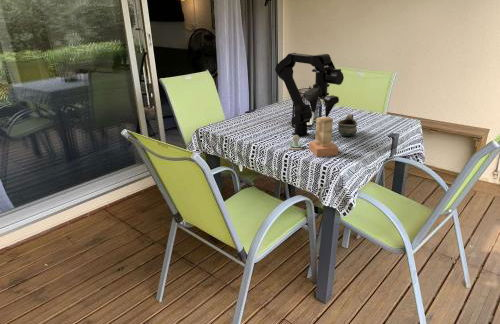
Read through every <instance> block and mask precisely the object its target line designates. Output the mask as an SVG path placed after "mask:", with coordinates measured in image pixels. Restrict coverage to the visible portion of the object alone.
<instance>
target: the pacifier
mask: <svg viewBox="0 0 500 324" xmlns="http://www.w3.org/2000/svg"><path fill="white" fill-rule="evenodd" d="M292 140H293V142H290V141H288V145H289V147H288V149H290V150H293V151H301V150H302V149H303V146H304V144H305V142H302V143H301V142H299V141H300V137H299V136H298V135H293V137H292Z"/></svg>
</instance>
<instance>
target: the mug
mask: <svg viewBox="0 0 500 324" xmlns="http://www.w3.org/2000/svg"><path fill="white" fill-rule="evenodd" d="M337 124H338V125H337V126H338V127H337V131H338V134H340V135H341V136H343V137H346V138H347V137H352V136H355V135H356V133H357V130H358V129H357V126H358V122H357V121H356V120H355V119H354V115H353V113H348V114H347V115H346V117H345V119H341V120H339V121H337Z"/></svg>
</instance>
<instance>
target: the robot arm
mask: <svg viewBox="0 0 500 324" xmlns="http://www.w3.org/2000/svg"><path fill="white" fill-rule="evenodd" d="M296 63H299V64H308V65H311V67H313V69H312V70H311V72H314V73H315V78H314V79H315V80H314V82H315V83H313V84H312V88H310V89H309V90H306V91H305V92H303V96H302V95H301V93H300V90H299V89H298V86H297V83H296V81H295V78H294V69H293V68H294V67H296ZM274 70H275V73H276V75H277V76H278V78H279V79H281V80H282V81H283V82H284V85H285V87H286V89H287V92H288V94H289V97H290V99H291V102H292V103H293V106H294V111H293V113H294V116H293V117H292V118H291V119H290V121H291V124H292V125H294V132H291V134H292V135H293V136H294V135H298V136H299V138H302V137H305V136H308V135H310V133H308V123H310V121H311V119H312V118H313V113H316V110H317V105H318V102H319V101H318V100H319V99H320V100H322V101H323V105H324V108H325V109H324V110H325V111H324V113H325V114H324V115H325V116H324V117H328V118H329V115H330V113H331V112H332V110H333V108H334V107H335V105H337V103H338V104H339V101H340V98H339V96H337V95H333V94H332V95H330V93H329V92H328V87H330V85H336V86H340V85H342V83H343V82H344V79H345V77H344V73H343V72H342V69H341V68H338V69H336V67H335V64H334V63H333V60H332V58H331V55H330V54H328V53H322V54H316V55H315V54H304V53H297V52H291V53H288V54H287V55H286V56H285V57H284V58H282V59H281V60H280V61H279V63H276V66H275V69H274ZM303 98H305V100H306V101H307V102H309V103H307V104H306V103H305V101H304V99H303Z"/></svg>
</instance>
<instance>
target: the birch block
mask: <svg viewBox="0 0 500 324" xmlns="http://www.w3.org/2000/svg"><path fill="white" fill-rule="evenodd" d="M333 120H334V119H333V118H332V117H329V116H328V117H326V116H321V117H320V116H319V117H317V118H316V122H315V126H316V127H315V138H314V141H315V144H317V145H320V146H322V147H323V146H328V145H331V141H332V135H333V133H332V132H333V124H334V123H333Z"/></svg>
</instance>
